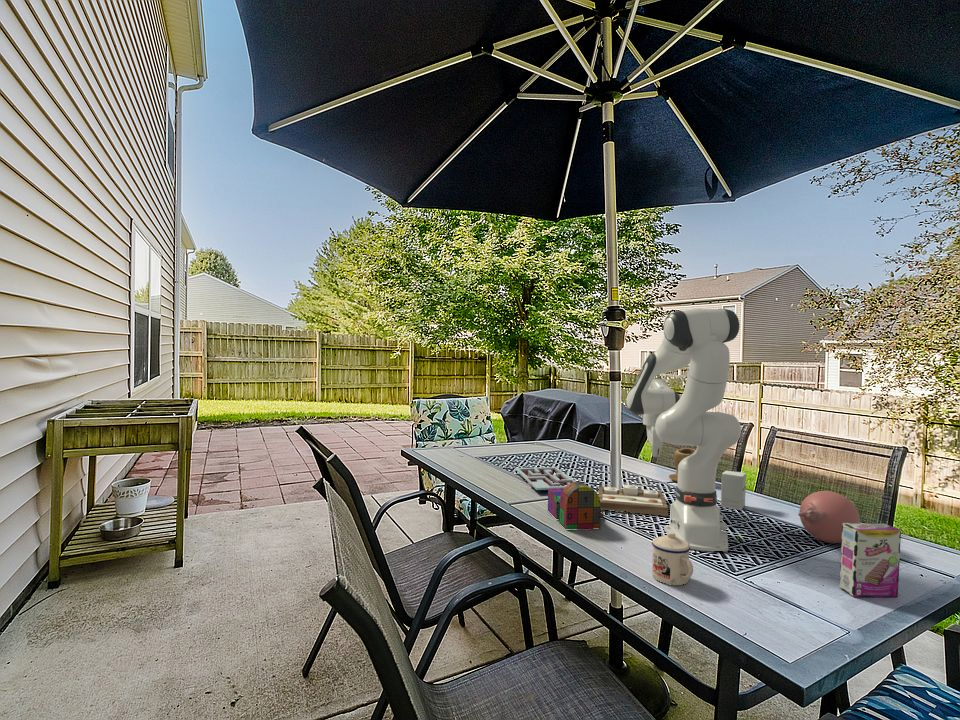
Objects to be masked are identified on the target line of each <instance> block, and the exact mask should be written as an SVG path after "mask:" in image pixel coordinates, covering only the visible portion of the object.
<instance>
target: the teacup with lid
mask: <svg viewBox="0 0 960 720" xmlns="http://www.w3.org/2000/svg"><path fill="white" fill-rule="evenodd" d="M651 545H652V575H651V576H652V578H653V579H655V580H656V581H657V580H658V581H657V582H659V581H660V583H661V582H663V583H662V584H664V583H666V584H665V585H668V584H671V585H670V586H675V585H679V586H684V585H686V584H687V583H688V582H689V579H690V578H691V577H692V576H693V573H694V566H693V563H692V561H691V560H690V550H691V549H690V546H689V544H688V543H687V542H686V541H684V540H682V539H679V538H678V537H676V536H675V533H673V532H668V533H666V535H662V536H657V537H656V536H655V538H653V540H652V542H651ZM683 584H684V585H683Z"/></svg>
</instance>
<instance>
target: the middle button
mask: <svg viewBox="0 0 960 720" xmlns="http://www.w3.org/2000/svg"><path fill="white" fill-rule="evenodd" d="M623 489H624V495H635V496H638V490H639V489H638V485H636V484H635V485H634V484H623Z"/></svg>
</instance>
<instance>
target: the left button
mask: <svg viewBox="0 0 960 720" xmlns="http://www.w3.org/2000/svg"><path fill="white" fill-rule="evenodd" d="M603 487H604V493H610V494H617V488H618V487H612V486H611V487H610V486H603Z"/></svg>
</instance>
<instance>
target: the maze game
mask: <svg viewBox="0 0 960 720" xmlns="http://www.w3.org/2000/svg"><path fill="white" fill-rule="evenodd" d="M515 471H516V472H517V473H518V475H519V477H520V478H522V477H523V478H524V479H525V480H526V481H527V482H526V481H525V480H524V479H523V478H522V479H523V480H524V481H525V482H526V485H527V484H528V485H529V486H530V487H531V488H530V487H529V486H528V485H527V486H528V487H529V488H530V489H535V490H536V491H547V490H548V489H561V488H565V487H566V486H560V485H568V484H570V483H573V482H577V481H576V480H575V479H574V478H571V476H569V475H568V474H566V473H565V472H564V471H562V470H561V469H559V468H558V467H556V466H548V467H547V466H546V467H543V466H542V467H515ZM553 472H555V473H556V476H553ZM541 473H544V474H541ZM560 479H562V480H560ZM550 480H551V481H552V482H551V481H550ZM553 482H554V483H553Z"/></svg>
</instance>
